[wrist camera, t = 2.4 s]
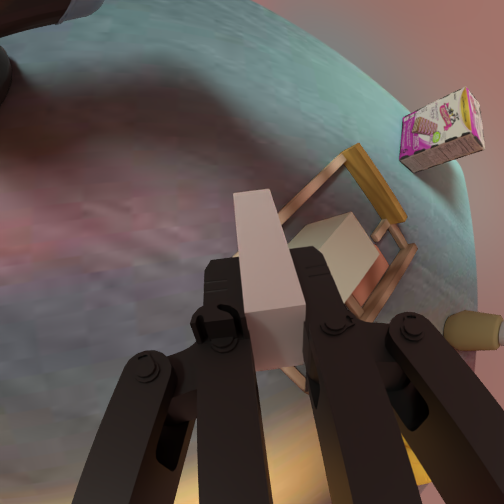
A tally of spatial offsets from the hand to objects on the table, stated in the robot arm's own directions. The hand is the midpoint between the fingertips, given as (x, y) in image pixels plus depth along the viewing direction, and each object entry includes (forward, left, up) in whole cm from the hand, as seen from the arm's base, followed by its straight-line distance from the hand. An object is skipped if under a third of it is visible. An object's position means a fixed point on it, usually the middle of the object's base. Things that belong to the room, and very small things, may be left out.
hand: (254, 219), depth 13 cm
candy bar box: (-16, +44, -22) cm, 52 cm away
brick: (+4, +13, -22) cm, 26 cm away
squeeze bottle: (+21, +50, -22) cm, 59 cm away
